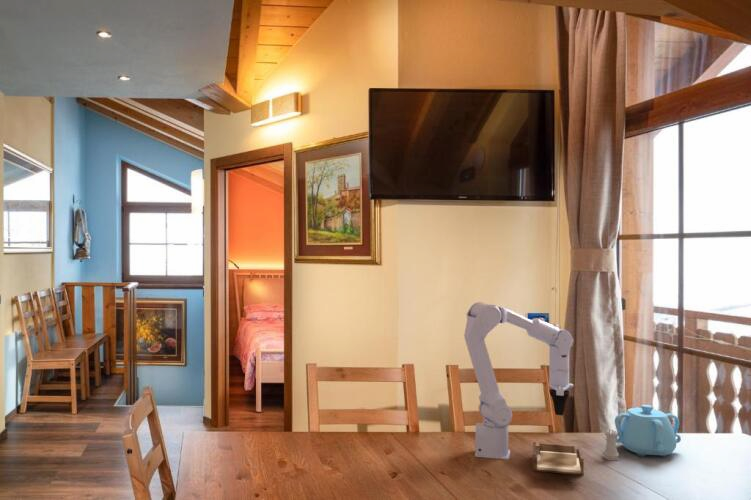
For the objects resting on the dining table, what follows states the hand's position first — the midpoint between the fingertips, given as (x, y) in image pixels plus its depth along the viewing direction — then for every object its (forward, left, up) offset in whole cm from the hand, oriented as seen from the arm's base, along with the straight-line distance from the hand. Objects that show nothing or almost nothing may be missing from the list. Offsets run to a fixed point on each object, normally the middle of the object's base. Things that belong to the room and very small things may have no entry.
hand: (559, 414), depth 185 cm
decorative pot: (+25, +5, -11) cm, 28 cm away
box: (-1, -16, -10) cm, 19 cm away
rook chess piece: (+14, -5, -11) cm, 18 cm away
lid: (-1, -25, -7) cm, 26 cm away
